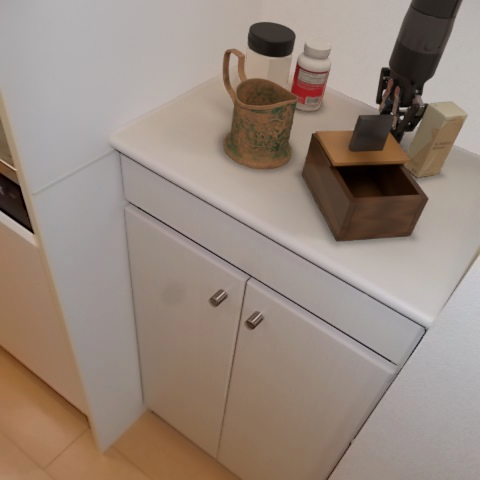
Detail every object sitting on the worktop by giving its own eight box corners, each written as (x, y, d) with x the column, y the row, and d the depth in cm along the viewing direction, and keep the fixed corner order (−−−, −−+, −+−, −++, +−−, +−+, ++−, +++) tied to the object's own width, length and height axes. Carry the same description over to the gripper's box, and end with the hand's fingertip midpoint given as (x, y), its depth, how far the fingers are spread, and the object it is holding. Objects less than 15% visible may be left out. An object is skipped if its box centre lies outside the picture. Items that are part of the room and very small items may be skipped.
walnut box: (368, 172, 87) (383, 131, 82) (410, 235, 78) (430, 195, 72) (301, 174, 84) (312, 132, 79) (336, 241, 75) (351, 199, 69)
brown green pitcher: (246, 108, 96) (256, 39, 87) (305, 159, 87) (323, 89, 78) (192, 119, 91) (196, 48, 82) (248, 175, 82) (260, 102, 73)
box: (416, 178, 88) (443, 116, 79) (401, 164, 90) (426, 102, 82) (440, 174, 90) (469, 113, 81) (425, 160, 92) (452, 99, 84)
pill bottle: (299, 92, 102) (312, 32, 94) (326, 104, 100) (342, 44, 92) (282, 103, 98) (294, 42, 90) (310, 116, 97) (325, 55, 88)
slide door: (386, 133, 81) (399, 98, 76) (409, 163, 76) (424, 128, 72) (314, 134, 78) (324, 98, 73) (333, 166, 73) (344, 129, 69)
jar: (240, 84, 101) (249, 17, 92) (282, 90, 102) (295, 24, 93) (239, 107, 95) (248, 38, 86) (283, 113, 96) (296, 46, 87)
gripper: (465, 62, 78) (420, 162, 91) (422, 22, 86) (386, 119, 99) (421, 61, 76) (381, 163, 89) (381, 20, 85) (350, 119, 98)
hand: (384, 139), depth 94 cm, fingers closed on block, 4 cm apart
